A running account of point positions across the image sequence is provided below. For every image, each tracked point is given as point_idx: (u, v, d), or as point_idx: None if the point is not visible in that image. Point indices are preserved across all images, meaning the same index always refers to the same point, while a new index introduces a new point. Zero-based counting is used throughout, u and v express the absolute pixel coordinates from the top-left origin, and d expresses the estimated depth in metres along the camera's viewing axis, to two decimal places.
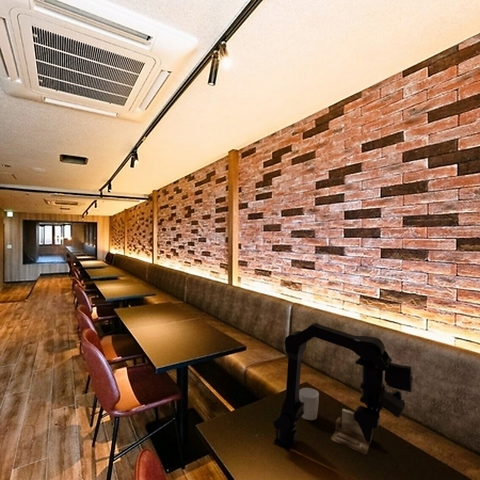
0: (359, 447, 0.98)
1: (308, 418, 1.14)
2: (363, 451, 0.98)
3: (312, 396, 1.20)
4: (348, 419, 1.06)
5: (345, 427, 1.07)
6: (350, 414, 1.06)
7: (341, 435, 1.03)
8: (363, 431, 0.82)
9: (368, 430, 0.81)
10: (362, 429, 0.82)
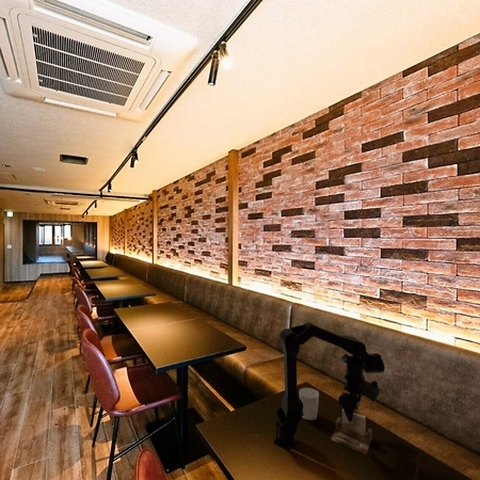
0: (359, 447, 0.98)
1: (308, 418, 1.14)
2: (363, 451, 0.98)
3: (312, 396, 1.20)
4: None
5: (345, 427, 1.07)
6: None
7: (341, 435, 1.03)
8: (346, 413, 1.02)
9: (350, 412, 1.01)
10: (345, 411, 1.02)
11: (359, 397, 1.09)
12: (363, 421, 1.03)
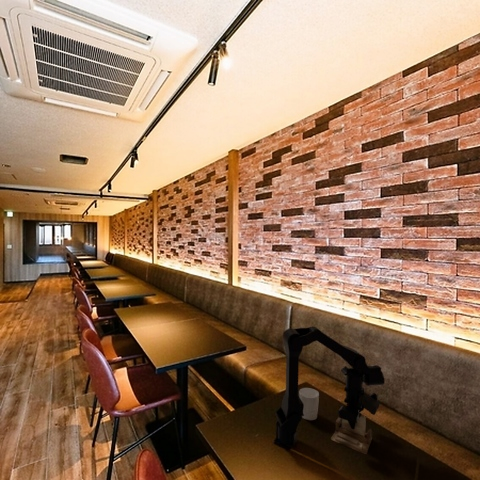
0: (359, 447, 0.98)
1: (308, 418, 1.14)
2: (363, 451, 0.98)
3: (312, 396, 1.20)
4: None
5: (345, 427, 1.07)
6: None
7: (341, 435, 1.03)
8: (349, 421, 1.05)
9: None
10: None
11: None
12: (363, 421, 1.03)
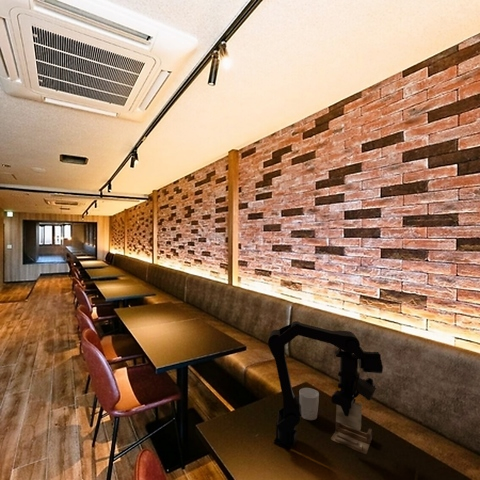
0: (359, 447, 0.98)
1: (308, 418, 1.14)
2: (363, 451, 0.98)
3: (312, 396, 1.20)
4: None
5: (340, 417, 1.00)
6: None
7: (341, 435, 1.03)
8: (342, 407, 0.98)
9: None
10: (341, 405, 0.98)
11: None
12: (359, 410, 0.96)
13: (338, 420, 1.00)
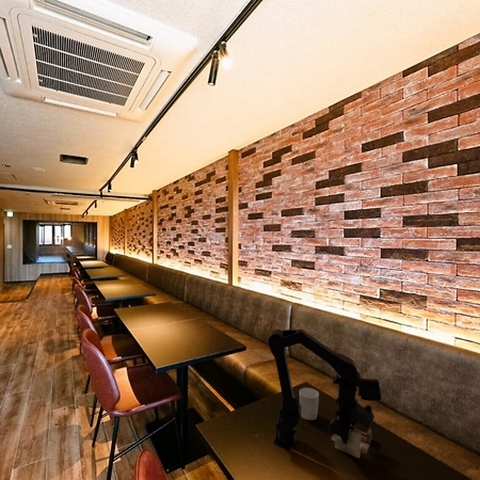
0: None
1: (308, 418, 1.14)
2: (363, 451, 0.98)
3: (312, 396, 1.20)
4: None
5: (339, 444, 0.98)
6: None
7: None
8: None
9: None
10: None
11: None
12: (358, 438, 0.95)
13: (337, 447, 0.99)
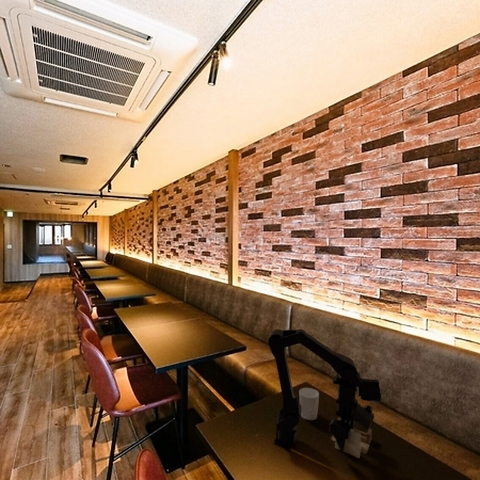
0: None
1: (308, 418, 1.14)
2: (363, 451, 0.98)
3: (312, 396, 1.20)
4: None
5: None
6: None
7: None
8: (337, 441, 0.94)
9: (341, 440, 0.93)
10: (336, 439, 0.94)
11: (352, 422, 1.01)
12: (358, 438, 0.95)
13: (337, 447, 0.99)
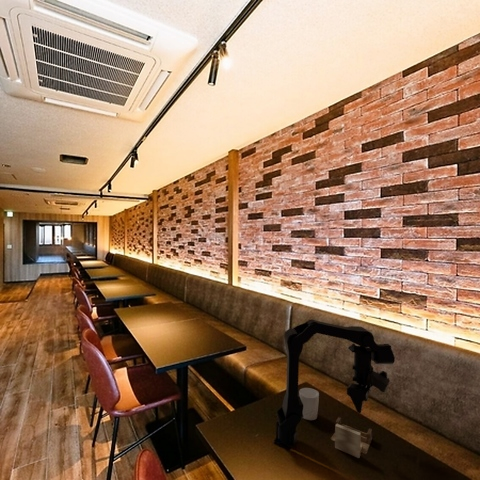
0: None
1: (308, 418, 1.14)
2: (363, 451, 0.98)
3: (312, 396, 1.20)
4: (342, 435, 0.98)
5: (339, 444, 0.98)
6: (344, 430, 0.97)
7: None
8: (355, 404, 0.99)
9: (359, 403, 0.99)
10: (354, 402, 0.99)
11: (368, 388, 1.07)
12: (358, 438, 0.95)
13: (337, 447, 0.99)
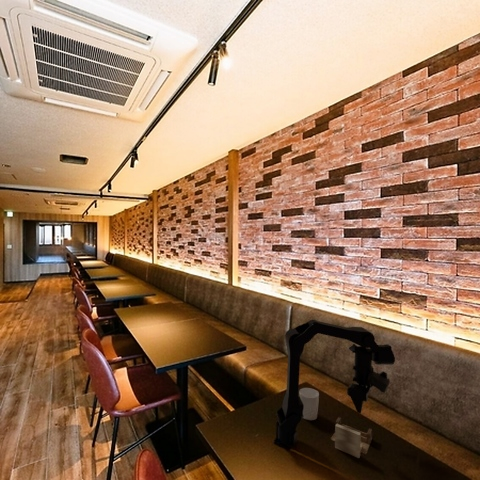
0: None
1: (308, 418, 1.14)
2: (363, 451, 0.98)
3: (312, 396, 1.20)
4: (342, 435, 0.98)
5: (339, 444, 0.98)
6: (344, 430, 0.97)
7: None
8: (355, 404, 1.00)
9: (359, 403, 0.99)
10: (354, 402, 1.00)
11: (368, 389, 1.07)
12: (358, 438, 0.95)
13: (337, 447, 0.99)
